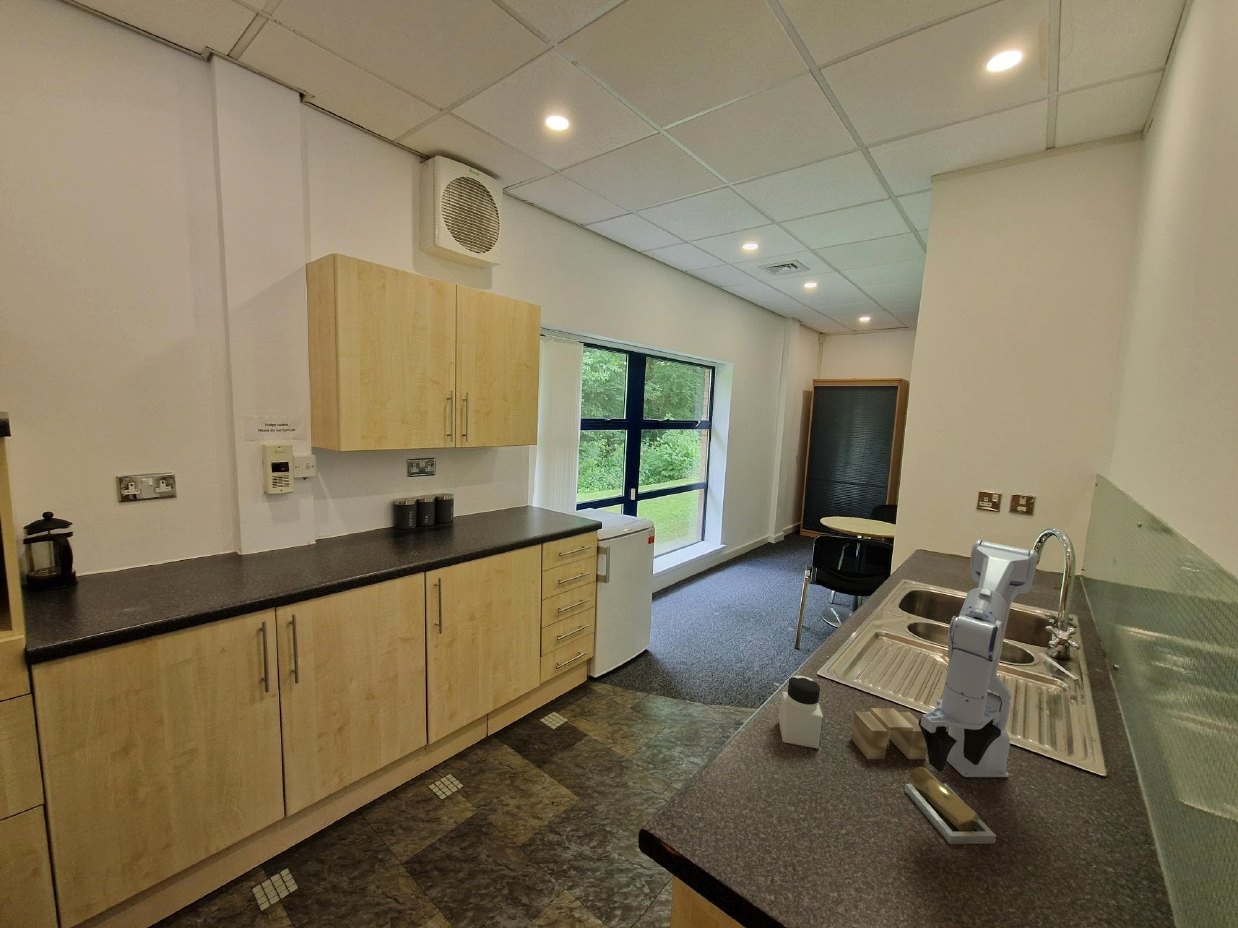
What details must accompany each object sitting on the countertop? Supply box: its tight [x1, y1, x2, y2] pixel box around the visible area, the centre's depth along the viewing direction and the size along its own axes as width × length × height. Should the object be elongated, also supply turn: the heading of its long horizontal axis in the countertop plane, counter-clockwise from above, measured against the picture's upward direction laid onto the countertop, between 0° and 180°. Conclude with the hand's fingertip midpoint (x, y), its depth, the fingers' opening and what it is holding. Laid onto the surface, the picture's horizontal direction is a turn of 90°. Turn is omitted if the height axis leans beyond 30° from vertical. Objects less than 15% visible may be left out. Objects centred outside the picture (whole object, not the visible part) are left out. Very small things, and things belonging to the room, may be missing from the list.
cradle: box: [904, 783, 997, 845], centre depth 84 cm, size 8×11×1 cm
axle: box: [908, 766, 980, 832], centre depth 85 cm, size 10×4×4 cm, turn 14°
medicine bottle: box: [778, 675, 824, 750], centre depth 102 cm, size 7×7×12 cm
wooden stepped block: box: [850, 707, 928, 760], centre depth 100 cm, size 12×6×7 cm, turn 95°
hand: (953, 763), depth 83 cm, fingers open, 7 cm apart
